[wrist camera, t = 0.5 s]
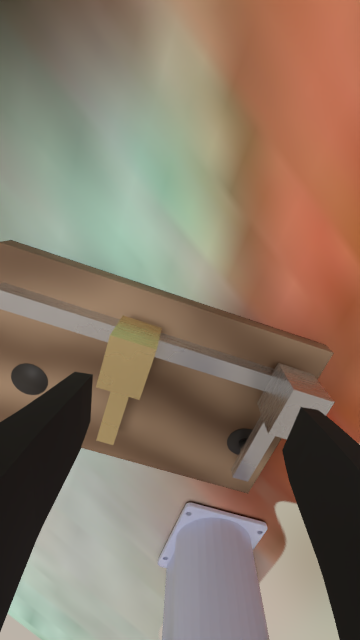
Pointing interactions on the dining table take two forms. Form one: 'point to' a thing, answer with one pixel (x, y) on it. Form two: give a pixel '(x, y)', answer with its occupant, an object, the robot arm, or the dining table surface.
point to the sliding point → (125, 370)
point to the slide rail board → (164, 377)
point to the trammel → (277, 384)
